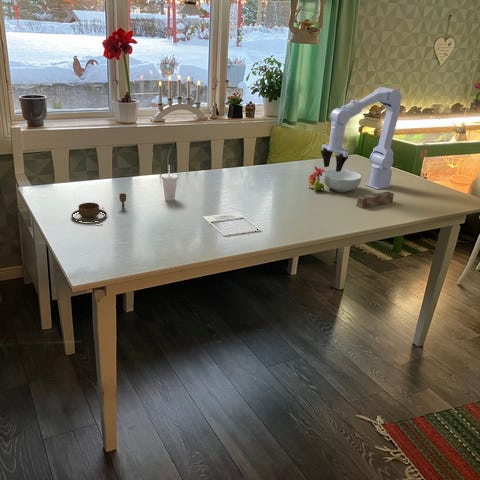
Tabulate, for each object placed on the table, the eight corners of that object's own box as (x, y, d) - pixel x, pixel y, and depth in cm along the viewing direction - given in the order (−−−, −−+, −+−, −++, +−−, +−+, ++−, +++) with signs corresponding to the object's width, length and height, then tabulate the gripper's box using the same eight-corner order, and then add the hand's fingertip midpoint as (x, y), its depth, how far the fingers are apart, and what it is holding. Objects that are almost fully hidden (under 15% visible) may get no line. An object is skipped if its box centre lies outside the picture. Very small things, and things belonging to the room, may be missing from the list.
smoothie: (158, 199, 198) (158, 165, 193) (167, 195, 204) (168, 161, 198) (171, 203, 196) (172, 168, 190) (181, 199, 201) (181, 164, 195)
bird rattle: (304, 193, 224) (317, 191, 217) (300, 168, 224) (313, 165, 216) (315, 192, 228) (328, 189, 220) (311, 167, 227) (324, 164, 219)
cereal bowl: (329, 181, 237) (331, 166, 234) (364, 188, 230) (366, 173, 227) (315, 189, 224) (317, 174, 221) (351, 198, 216) (353, 182, 213)
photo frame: (238, 211, 190) (261, 229, 176) (238, 214, 191) (261, 232, 176) (202, 216, 184) (223, 234, 169) (202, 218, 184) (223, 237, 170)
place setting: (70, 210, 184) (69, 195, 181) (126, 207, 190) (125, 192, 188) (73, 229, 169) (72, 212, 166) (133, 225, 175) (133, 209, 173)
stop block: (386, 200, 216) (388, 191, 215) (392, 202, 214) (394, 193, 212) (356, 205, 207) (357, 196, 206) (361, 208, 205) (363, 198, 203)
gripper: (318, 134, 217) (314, 165, 223) (341, 142, 206) (336, 174, 212) (330, 133, 221) (326, 164, 226) (354, 141, 210) (349, 172, 215)
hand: (332, 169), depth 219 cm, fingers open, 7 cm apart
